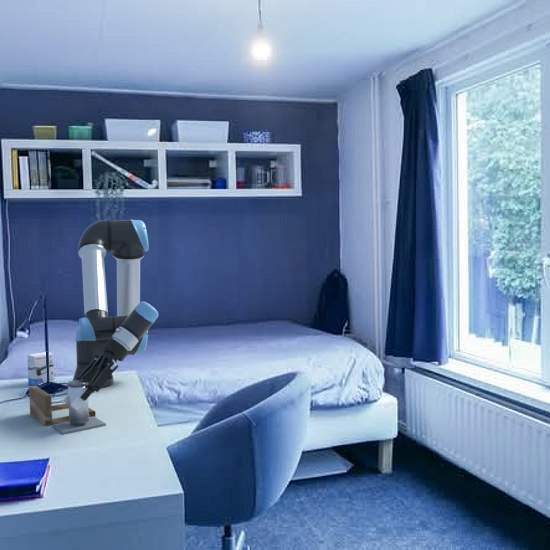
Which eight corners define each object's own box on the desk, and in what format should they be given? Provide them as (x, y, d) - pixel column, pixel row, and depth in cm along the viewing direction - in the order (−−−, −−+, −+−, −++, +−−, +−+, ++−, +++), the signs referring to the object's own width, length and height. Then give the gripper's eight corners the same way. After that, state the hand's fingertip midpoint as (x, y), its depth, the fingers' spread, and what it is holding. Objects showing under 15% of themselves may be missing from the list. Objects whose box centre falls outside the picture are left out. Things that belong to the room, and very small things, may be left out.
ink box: (35, 386, 235) (33, 356, 234) (27, 385, 238) (26, 354, 237) (54, 382, 242) (53, 352, 241) (47, 380, 245) (46, 351, 244)
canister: (85, 416, 189) (83, 378, 188) (92, 421, 184) (91, 382, 184) (66, 420, 186) (64, 381, 185) (72, 425, 181) (71, 385, 180)
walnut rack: (77, 405, 208) (76, 379, 207) (95, 416, 195) (94, 388, 195) (30, 414, 198) (28, 386, 198) (45, 425, 186) (44, 396, 185)
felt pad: (94, 418, 193) (94, 416, 193) (105, 425, 185) (105, 423, 185) (52, 426, 185) (52, 425, 185) (62, 434, 178) (62, 432, 178)
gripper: (99, 333, 198) (50, 392, 189) (124, 341, 183) (71, 405, 174) (116, 347, 201) (68, 406, 192) (141, 356, 186) (90, 419, 177)
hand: (69, 405), depth 183 cm, fingers open, 6 cm apart
